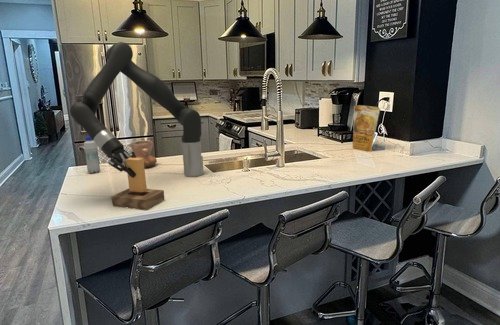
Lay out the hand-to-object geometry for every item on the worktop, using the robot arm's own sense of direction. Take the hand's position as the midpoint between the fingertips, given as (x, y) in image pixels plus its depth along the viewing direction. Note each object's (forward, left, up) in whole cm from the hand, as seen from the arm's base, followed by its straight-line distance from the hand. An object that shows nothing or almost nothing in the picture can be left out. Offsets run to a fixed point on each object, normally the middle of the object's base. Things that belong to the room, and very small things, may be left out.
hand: (137, 174), depth 138 cm
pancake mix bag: (-145, -32, -12) cm, 148 cm away
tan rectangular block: (0, 0, -6) cm, 7 cm away
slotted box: (0, 0, -12) cm, 12 cm away
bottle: (+15, -62, -12) cm, 65 cm away
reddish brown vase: (-11, -62, -12) cm, 64 cm away
